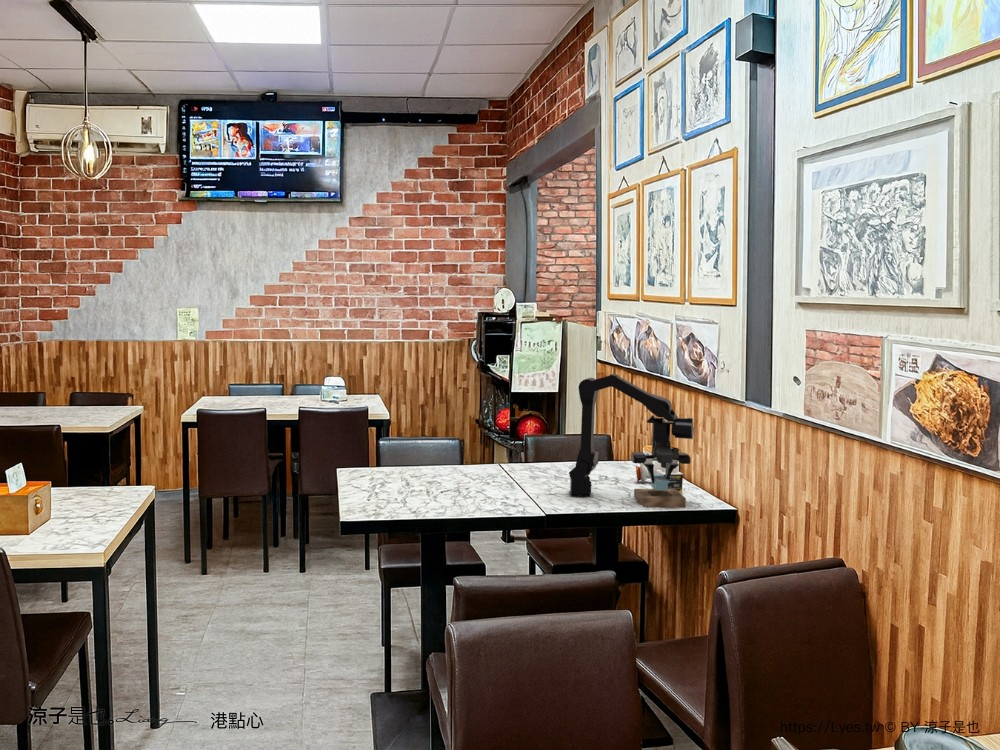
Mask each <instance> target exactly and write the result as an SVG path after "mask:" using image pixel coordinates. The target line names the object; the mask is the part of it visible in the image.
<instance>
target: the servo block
mask: <svg viewBox="0 0 1000 750" xmlns="http://www.w3.org/2000/svg"><path fill="white" fill-rule="evenodd" d="M668 483H670V481H669V480H668V479H667V478H666V477H664V476H663V475H662V474H654V484H652V483H651V489H654V490H668Z"/></svg>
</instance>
